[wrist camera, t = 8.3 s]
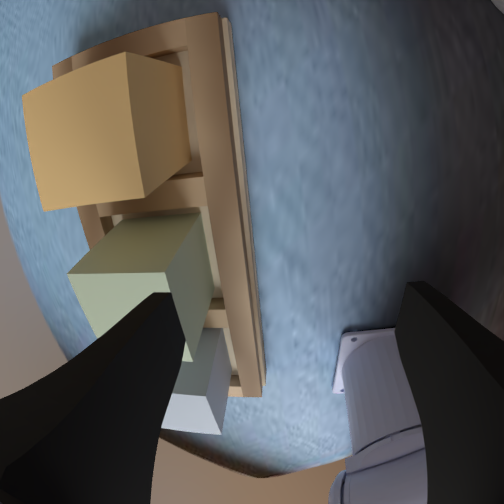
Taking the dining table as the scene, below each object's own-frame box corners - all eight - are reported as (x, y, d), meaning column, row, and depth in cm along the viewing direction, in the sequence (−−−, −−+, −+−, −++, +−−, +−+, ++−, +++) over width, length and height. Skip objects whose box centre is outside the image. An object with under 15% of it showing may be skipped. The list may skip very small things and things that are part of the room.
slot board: (231, 24, 12) (222, 10, 10) (266, 371, 24) (264, 397, 22) (75, 67, 13) (49, 67, 11) (158, 367, 25) (150, 389, 23)
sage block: (201, 212, 16) (164, 272, 11) (214, 288, 18) (192, 361, 13) (122, 219, 16) (66, 273, 11) (143, 288, 19) (105, 353, 14)
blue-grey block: (221, 323, 20) (205, 396, 14) (232, 369, 22) (221, 434, 17) (155, 322, 20) (125, 387, 15) (172, 366, 23) (153, 426, 17)
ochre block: (191, 160, 14) (144, 197, 9) (110, 171, 15) (43, 211, 10) (181, 66, 12) (125, 51, 7) (97, 88, 13) (22, 95, 7)
